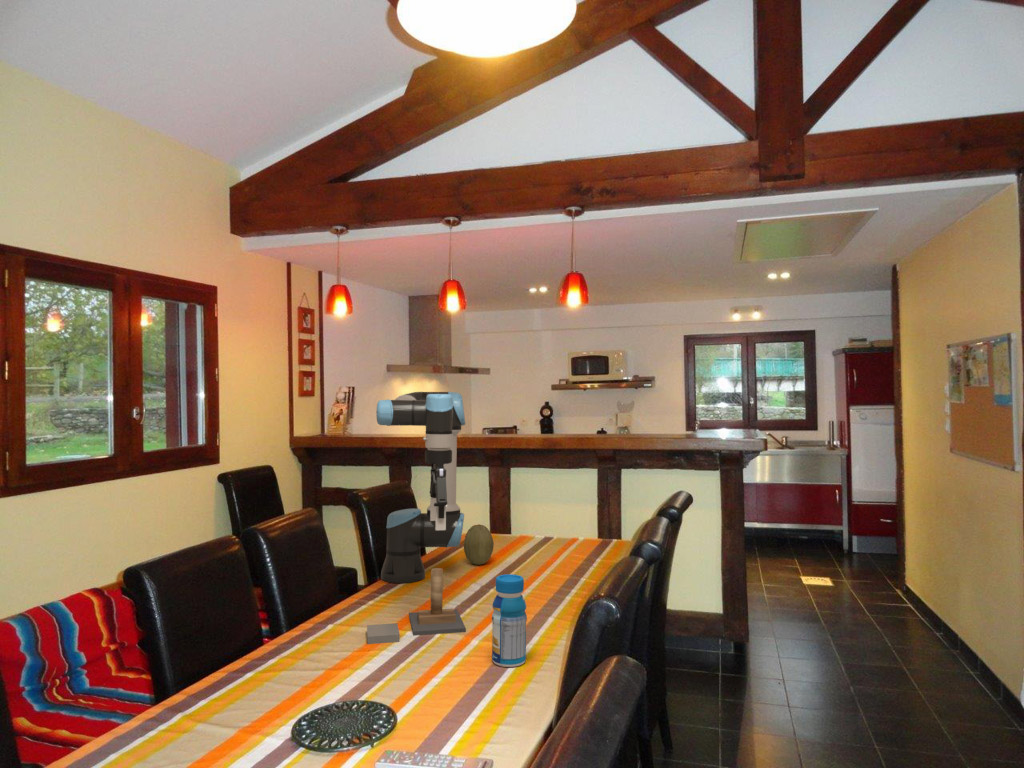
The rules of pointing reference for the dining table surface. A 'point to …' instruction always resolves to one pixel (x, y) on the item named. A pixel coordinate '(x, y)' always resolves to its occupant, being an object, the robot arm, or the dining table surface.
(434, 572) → the tamper
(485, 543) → the fruit
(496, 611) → the beverage bottle
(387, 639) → the tile
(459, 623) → the mat
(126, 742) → the dining table surface
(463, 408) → the robot arm
